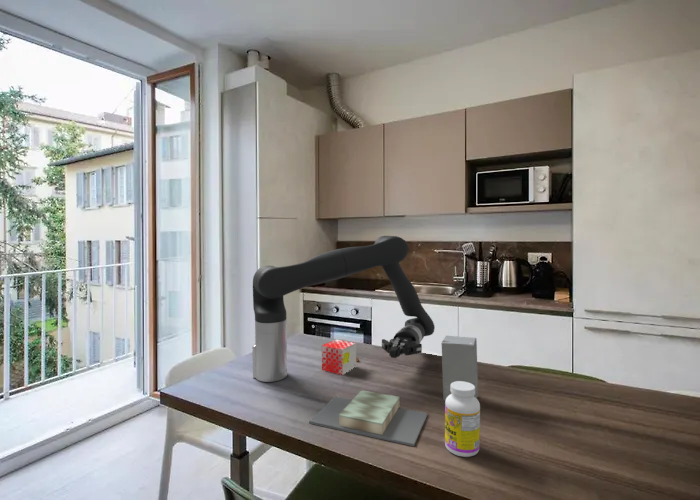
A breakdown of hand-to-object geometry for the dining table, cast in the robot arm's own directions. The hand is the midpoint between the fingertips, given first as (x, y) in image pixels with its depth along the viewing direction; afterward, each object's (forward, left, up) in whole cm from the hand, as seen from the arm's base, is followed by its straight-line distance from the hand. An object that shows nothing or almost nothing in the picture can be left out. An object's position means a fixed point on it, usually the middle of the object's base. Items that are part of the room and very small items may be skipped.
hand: (393, 354), depth 104 cm
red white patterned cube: (-20, +7, -9) cm, 23 cm away
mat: (0, -20, -9) cm, 22 cm away
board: (0, -12, -7) cm, 14 cm away
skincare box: (+18, -1, -9) cm, 20 cm away
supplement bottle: (+21, -24, -9) cm, 33 cm away
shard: (-22, +19, -10) cm, 31 cm away
